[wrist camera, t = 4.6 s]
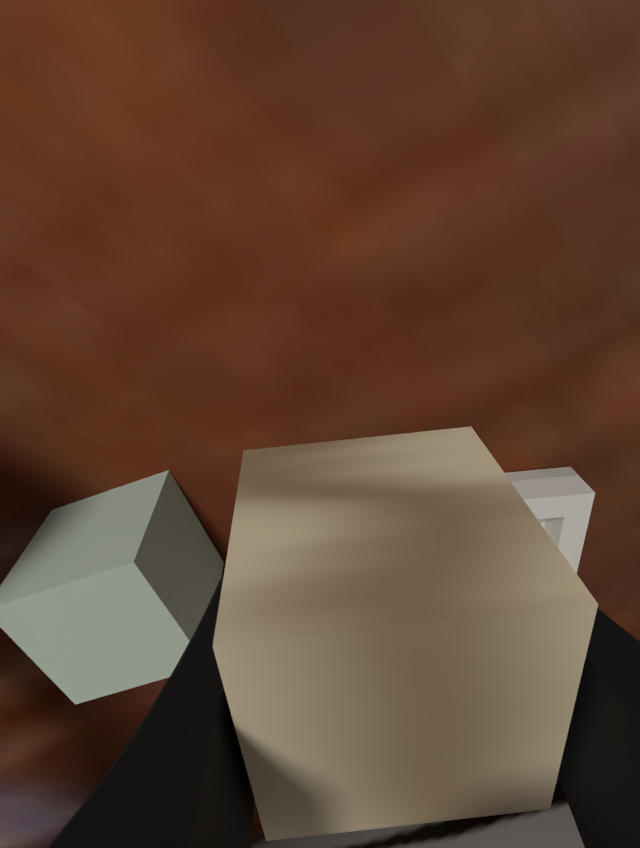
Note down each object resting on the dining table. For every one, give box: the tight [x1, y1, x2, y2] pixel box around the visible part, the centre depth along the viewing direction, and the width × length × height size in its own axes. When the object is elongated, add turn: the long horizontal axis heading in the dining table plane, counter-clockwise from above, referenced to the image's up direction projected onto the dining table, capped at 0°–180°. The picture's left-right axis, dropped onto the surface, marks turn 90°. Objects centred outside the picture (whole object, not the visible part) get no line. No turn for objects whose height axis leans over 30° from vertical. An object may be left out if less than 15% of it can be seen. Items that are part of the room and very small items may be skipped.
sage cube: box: [0, 470, 224, 705], centre depth 18 cm, size 5×5×5 cm
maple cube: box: [212, 427, 598, 841], centre depth 10 cm, size 5×5×5 cm
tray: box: [505, 467, 595, 574], centre depth 21 cm, size 11×11×2 cm
